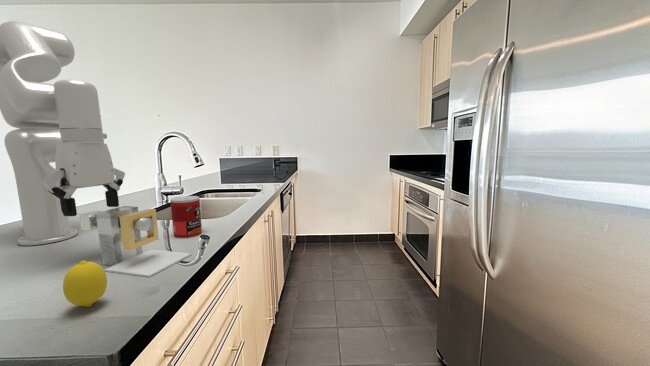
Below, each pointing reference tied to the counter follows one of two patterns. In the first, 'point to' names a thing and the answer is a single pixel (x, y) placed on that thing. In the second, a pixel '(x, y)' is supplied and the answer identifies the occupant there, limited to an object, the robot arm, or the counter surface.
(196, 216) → the canned food
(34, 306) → the counter surface
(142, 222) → the shaft
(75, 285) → the lemon
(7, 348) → the counter surface
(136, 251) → the bearing block
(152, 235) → the frame
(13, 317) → the counter surface
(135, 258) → the mat
